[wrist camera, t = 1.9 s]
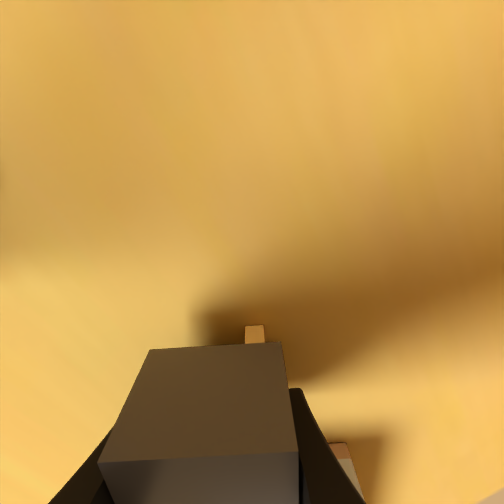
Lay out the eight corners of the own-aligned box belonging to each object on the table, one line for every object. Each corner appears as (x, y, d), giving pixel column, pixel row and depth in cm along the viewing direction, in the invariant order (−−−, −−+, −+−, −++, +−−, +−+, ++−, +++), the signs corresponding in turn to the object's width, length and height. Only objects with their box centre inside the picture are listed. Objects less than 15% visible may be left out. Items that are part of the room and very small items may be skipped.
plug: (276, 316, 12) (298, 451, 7) (280, 400, 14) (298, 555, 9) (161, 323, 12) (97, 462, 7) (180, 405, 14) (140, 563, 9)
